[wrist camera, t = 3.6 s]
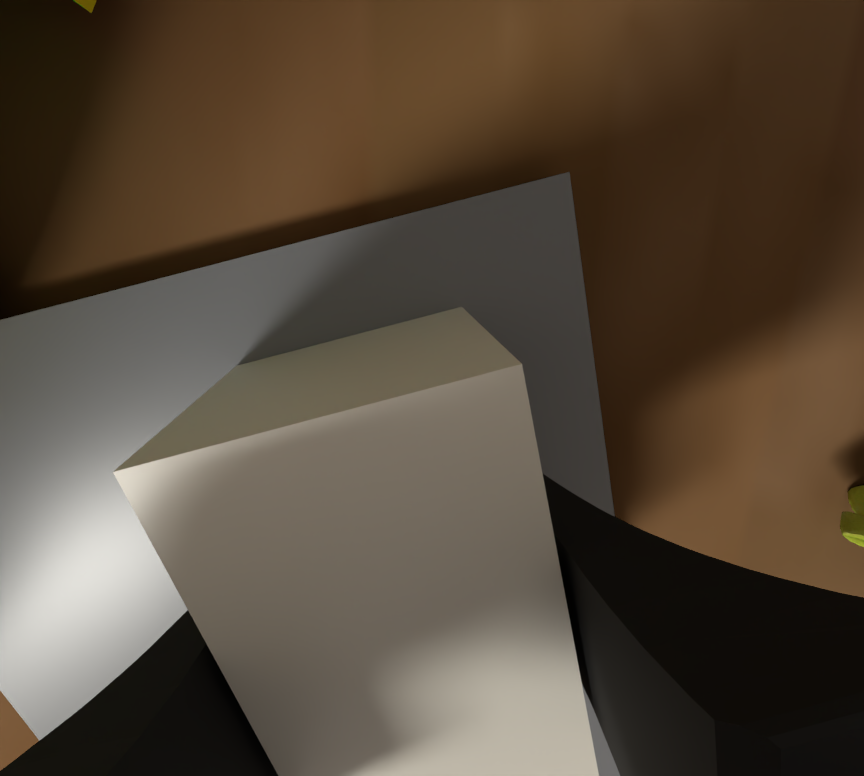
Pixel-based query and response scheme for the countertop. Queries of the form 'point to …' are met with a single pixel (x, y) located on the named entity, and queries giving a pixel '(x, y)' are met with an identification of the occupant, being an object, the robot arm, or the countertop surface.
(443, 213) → the baseplate
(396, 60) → the countertop surface
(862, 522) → the bird rattle
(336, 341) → the cream brick
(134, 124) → the countertop surface
